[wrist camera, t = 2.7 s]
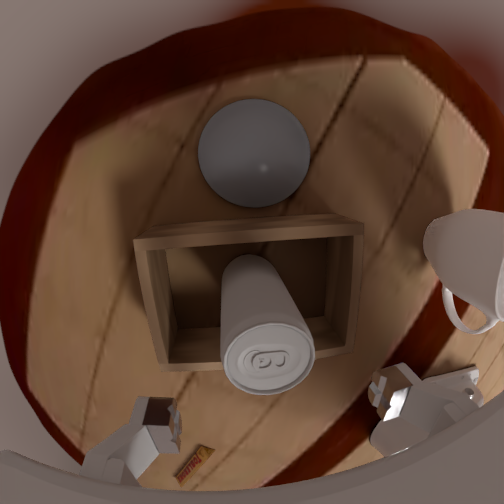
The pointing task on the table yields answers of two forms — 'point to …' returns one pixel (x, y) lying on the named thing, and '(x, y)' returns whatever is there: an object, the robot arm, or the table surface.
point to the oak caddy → (245, 231)
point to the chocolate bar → (194, 465)
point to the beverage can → (262, 329)
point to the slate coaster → (254, 153)
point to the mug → (469, 262)
